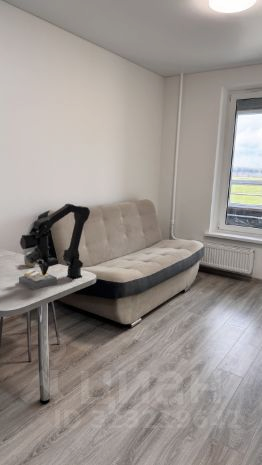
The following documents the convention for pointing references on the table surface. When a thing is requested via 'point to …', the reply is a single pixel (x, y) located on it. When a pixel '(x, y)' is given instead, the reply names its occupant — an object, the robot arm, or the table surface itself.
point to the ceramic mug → (29, 262)
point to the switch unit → (40, 283)
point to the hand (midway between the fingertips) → (44, 274)
